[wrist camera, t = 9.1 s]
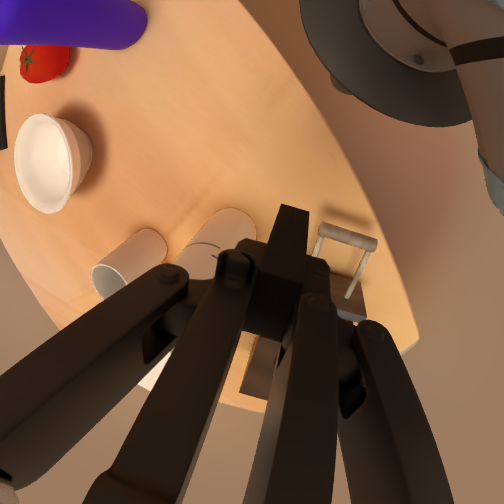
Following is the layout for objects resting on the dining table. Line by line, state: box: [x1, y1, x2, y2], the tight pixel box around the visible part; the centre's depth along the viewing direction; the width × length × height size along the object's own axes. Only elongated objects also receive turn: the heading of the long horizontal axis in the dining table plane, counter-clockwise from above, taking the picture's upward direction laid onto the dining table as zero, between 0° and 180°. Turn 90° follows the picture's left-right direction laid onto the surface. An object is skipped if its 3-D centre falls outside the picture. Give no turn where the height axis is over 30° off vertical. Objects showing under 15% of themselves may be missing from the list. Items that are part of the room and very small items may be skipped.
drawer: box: [282, 222, 377, 339], centre depth 38 cm, size 22×11×8 cm, turn 167°
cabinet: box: [239, 335, 283, 400], centre depth 44 cm, size 15×13×10 cm
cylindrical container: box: [138, 208, 257, 391], centre depth 30 cm, size 7×7×25 cm
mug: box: [91, 229, 167, 300], centre depth 41 cm, size 10×7×12 cm, turn 43°
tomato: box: [20, 45, 69, 84], centre depth 28 cm, size 9×10×8 cm
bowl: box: [14, 113, 93, 214], centre depth 36 cm, size 16×16×9 cm
